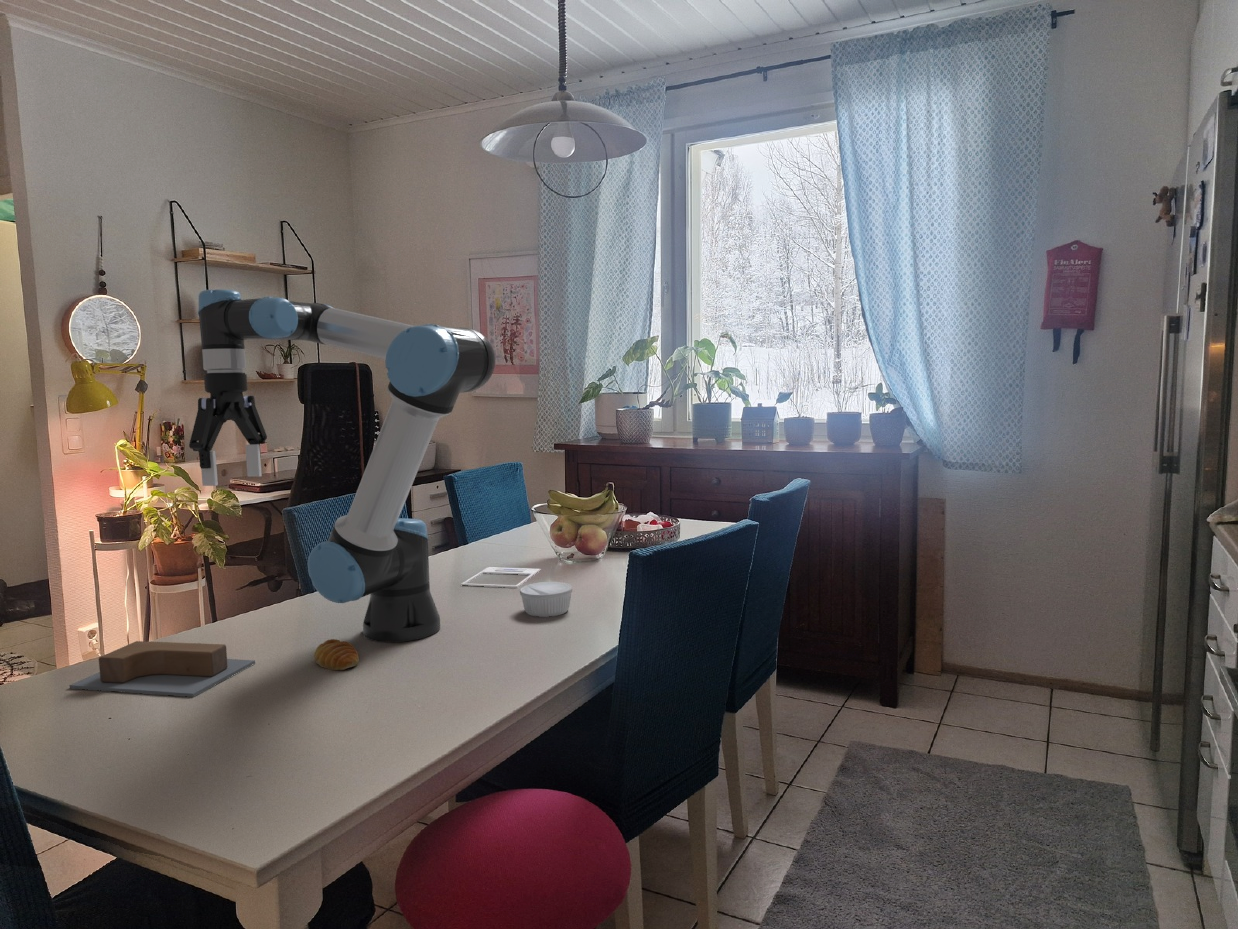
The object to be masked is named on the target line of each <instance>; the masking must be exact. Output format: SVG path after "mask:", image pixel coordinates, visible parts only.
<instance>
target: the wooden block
mask: <svg viewBox="0 0 1238 929" xmlns="http://www.w3.org/2000/svg"><path fill="white" fill-rule="evenodd" d="M227 659H228V654H227V645H226V644H225V643H224V644H222V643H221V644H220V643H199V642H198V643H193V642H171V641H170V642H168V641H142V640H138V641H137V640H136V641H133V642H132V643H129V644H127V645H125V646H122V647H120V648H117V649H115V650H113V651H111V652H108V653H106V654H104V655H101V656H100V657H99V658H98V667H99V669H98V670H99V672H100V680H101V682H110V683H125V682H127V681H130V680H132V679H135V678H138V677H143V676H148V675H162V674H163V675H186V676H209V677H212V676H214V675H216V674H218V673H220V672H221V671H223V670H225V669H227V667H228V665H227Z"/></svg>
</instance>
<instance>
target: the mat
mask: <svg viewBox="0 0 1238 929" xmlns="http://www.w3.org/2000/svg"><path fill="white" fill-rule="evenodd" d="M252 664H254V665H255V664H256V660H253V659H237V658H227V665H228V667H227V669H225V670H223V671H221V672H220V673H218V674H216V675H214V676H212V677H209V676H186V675H163V674H162V675H148V676H143V677H138V678H135V679H132V680H130V681H127V682H125V683H110V682H101V680H100V671H99V672H97V673H94V674H92V675H90V676H87V677H84V678H83V679H80V680H78V681H76V682H74V683H71V684H69V689H73V690H82V689H85V690H84V691H97V690H99V691H98V692H111V691H119V692H118V693H125V692H130V693H129V694H140V693H142V695H143V694H144V695H155V696H157V695H158V696H168V695H174V696H173V697H183V698H195V697H197V696H199V695H200V694H202V693H204V692H207V691H208V690H209V688H210V689H212V688H214V687H215V686H216V685H215V684H217V685H219V684H220V683H219V682H221V681H222V682H224V681H226V680H228V679H230V678H231V676H232V675H233V676H235V675H237V674H239V673H241V672H243V671H244V670H246V669H248V668H250V667H251V665H252ZM252 666H253V665H252ZM247 667H248V668H247ZM245 668H246V669H245ZM242 670H243V671H242ZM240 671H241V672H240ZM238 672H239V673H238ZM236 673H237V674H236ZM234 674H235V675H234ZM233 676H232V677H233ZM229 677H230V678H229ZM227 678H228V679H227ZM225 679H226V680H225ZM222 682H221V683H222ZM218 683H219V684H218ZM214 685H215V686H214ZM86 689H88V690H86ZM207 689H208V690H207ZM100 690H101V691H100ZM120 691H122V692H120ZM203 691H204V692H203ZM196 695H197V696H196ZM185 696H187V697H185Z"/></svg>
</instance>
